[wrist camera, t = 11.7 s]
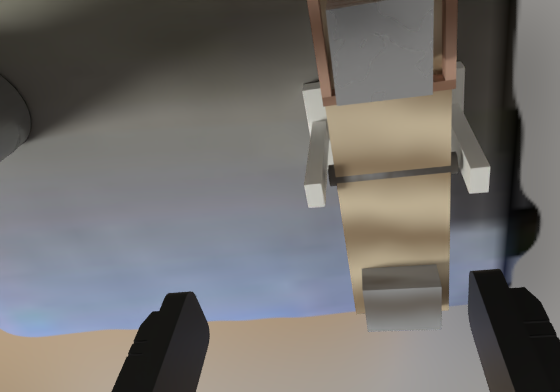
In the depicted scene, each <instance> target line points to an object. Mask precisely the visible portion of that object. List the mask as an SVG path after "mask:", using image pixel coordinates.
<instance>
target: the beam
mask: <svg viewBox="0 0 560 392" xmlns="http://www.w3.org/2000/svg"><path fill="white" fill-rule="evenodd" d="M307 4H308V10H309V17H310V23H311V30H312V36H313V43H314V49H315V56H316V62H317V69H318V76H319V82H320V89H321V95H322V102H323V107H325V109H326V116H327V122H328V129H329V136H330V142H331V149H332V156H333V162H334V165H328V173H329V182H330V186H337V189H338V195H339V202H340V209H341V215H342V222H343V229H344V235H345V242H346V249H347V255H348V262H349V268H350V275H351V282H352V288H353V295H354V302H355V308H356V314H366V320H367V327H368V332H372V331H373V332H374V331H404V330H405V331H407V330H441V329H442V318H441V317H442V311H445V310H449V249H450V185H451V174H458V157H457V153H456V152H451V120H452V89H456V62H457V13H458V0H434V27H433V95H427V96H418V97H410V98H401V99H393V100H384V101H376V102H367V103H359V104H350V105H342V106H337V104H336V95H335V87H334V78H333V70H332V61H331V52H330V44H329V35H328V27H327V18H326V4H327V0H307Z"/></svg>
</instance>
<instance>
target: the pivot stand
mask: <svg viewBox="0 0 560 392" xmlns="http://www.w3.org/2000/svg"><path fill="white" fill-rule="evenodd" d="M464 83H465V67H464V65H463V64H462V62H461V61H459V62H456V89H452V120H451V152H456V153H457V157H458V166H459V168H460V171H461V173H462V176H463V178H464V181H465V184H466V186H467V189H468V191H469V194H472V193H483V192H489V178H490V165H489V163H488V161H487V159H486V157H485V155H484V153H483V151H482V149H481V147H480V145H479V143H478V141H477V139H476V137H475V135H474V133H473V131H472V129H471V127H470V125H469V123H468V121H467V119H466V117H465V115H464ZM302 92H303V97H304V103H305V108H306V114H307V120H308V125H309V131H310V145H309V152H308V160H307V167H306V175H305V182H304V187H305V192H306V197H307V202H308V207H309V208H314V207H325V200H326V184H327V169H328V165H334V162H333V156H332V149H331V142H330V136H329V129H328V122H327V116H326V109H325V107H323V102H322V95H321V89H320V82H316V83H309V84H304V85H303V90H302Z"/></svg>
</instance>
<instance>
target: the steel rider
mask: <svg viewBox="0 0 560 392" xmlns="http://www.w3.org/2000/svg"><path fill="white" fill-rule="evenodd" d="M326 18H327V27H328V35H329V44H330V52H331V61H332V70H333V78H334V87H335V95H336V104H337V106H342V105H350V104H359V103H367V102H376V101H384V100H393V99H401V98H410V97H418V96H427V95H433V27H434V0H327V4H326Z"/></svg>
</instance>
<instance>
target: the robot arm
mask: <svg viewBox="0 0 560 392" xmlns="http://www.w3.org/2000/svg"><path fill="white" fill-rule="evenodd" d="M30 129H31V119H30V115H29V111H28V108H27V106H26V104H25V102H24V100H23V99H22V97H21V96H20V94H19V93H18V92H17V90H16V89H15V88H14V87H13V86H12V85H11V84H10V83H9V82H8V81H7V80H6V79H4V78H3V77H2V76H0V162H1V161H2V160H3V159H4V158H6V157H7V156H9V155H10V154H11V153H12V152H14V151H15V150H16V149H17V148H18V147H19V146H20V145H21V144H22V143H23V142H24V141H26V139H27V137H28V136H29V134H30ZM468 315H469V322H470V327H471V331H472V334H473V337H474V341H475V344H476V347H477V351H478V354H479V357H480V360H481V364H482V367H483V370H484V374H485V377H486V380H487V384H488V387H489V390H490V392H560V340H559V338H557V336H556V332H555V330H554V328H553V326H552V324H551V323H550V322H549V318H548V316H547V314H546V312H545V310H544V308H543V305H542V304H541V302H540V301H539V300H538V299H537V298H536V297H535V296H534V295H533V294H531V293H530V292H529V291H528V290H527V289H526V288H525V287H521V288H509V287H508V285H507V282H506V280H505V278H504V275H503V273H502V271H501V270H500V269H491V270H478V271H470V273H469V295H468ZM209 335H210V334H209V326H208V323H207V320H206V318H205V316H204V314H203V311H202V309H201V307H200V304H199V302H198V300H197V298H196V296H195V294H194V293H193V292H178V293H168V294H167V295H166V296H165V298H164V301H163V303H162V306H161V308H160V311H155V312H152V313H151V314H150V315H149V316H148V317H147V318H146V320H145V321H144V322H143V323H142V324H141V325H140V327H139V330H138V332H137V334H136V337H135V339H134V344H132V346H131V348H130V350H129V353H128V357H127V358H126V360H125V362H124V364H123V367H122V369H121V371H120V373H119V376H118V378H117V380H116V383H115V385H114V387H113V390H112V392H196V389H197V385H198V382H199V378H200V374H201V370H202V367H203V363H204V359H205V355H206V352H207V348H208V344H209V337H210V336H209Z"/></svg>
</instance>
